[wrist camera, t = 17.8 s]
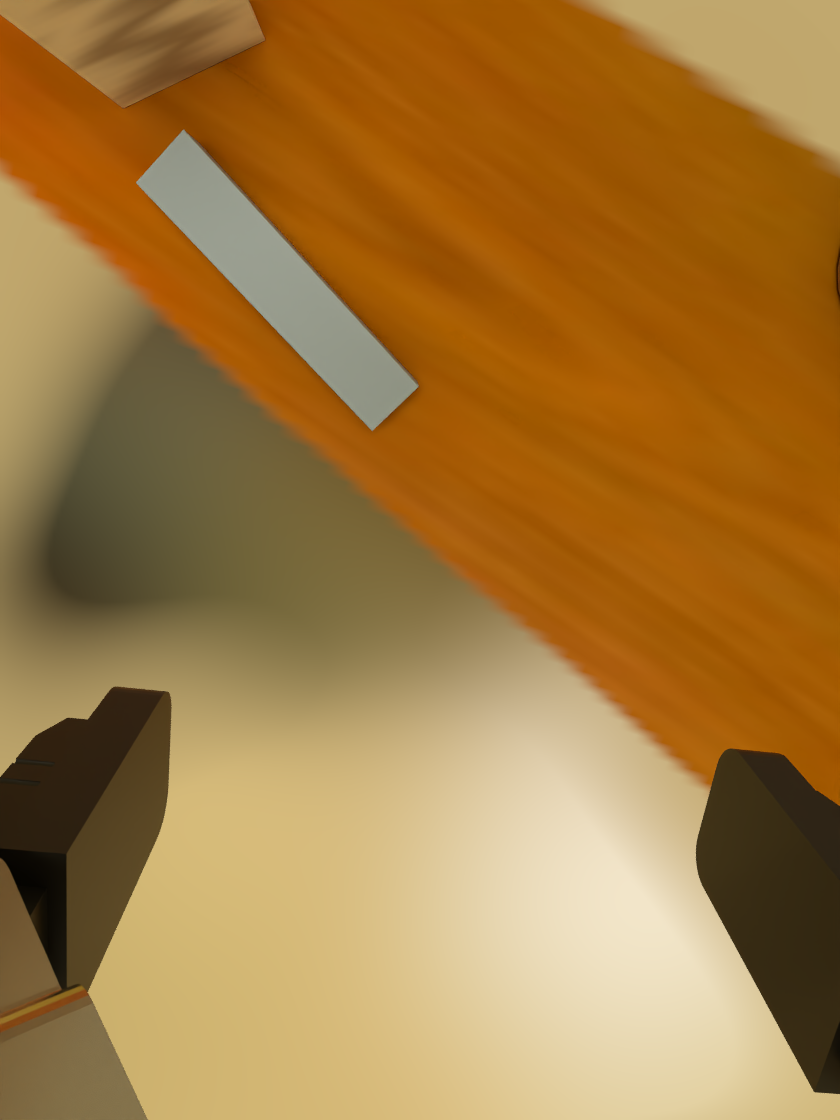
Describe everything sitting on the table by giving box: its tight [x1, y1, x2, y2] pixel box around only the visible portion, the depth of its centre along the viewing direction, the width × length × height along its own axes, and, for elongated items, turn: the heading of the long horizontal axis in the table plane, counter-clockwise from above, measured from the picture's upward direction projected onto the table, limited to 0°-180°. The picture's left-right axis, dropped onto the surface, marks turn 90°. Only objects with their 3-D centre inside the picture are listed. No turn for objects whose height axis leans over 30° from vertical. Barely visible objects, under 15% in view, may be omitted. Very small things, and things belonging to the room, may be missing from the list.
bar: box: [136, 130, 419, 431], centre depth 37 cm, size 3×14×3 cm, turn 43°
